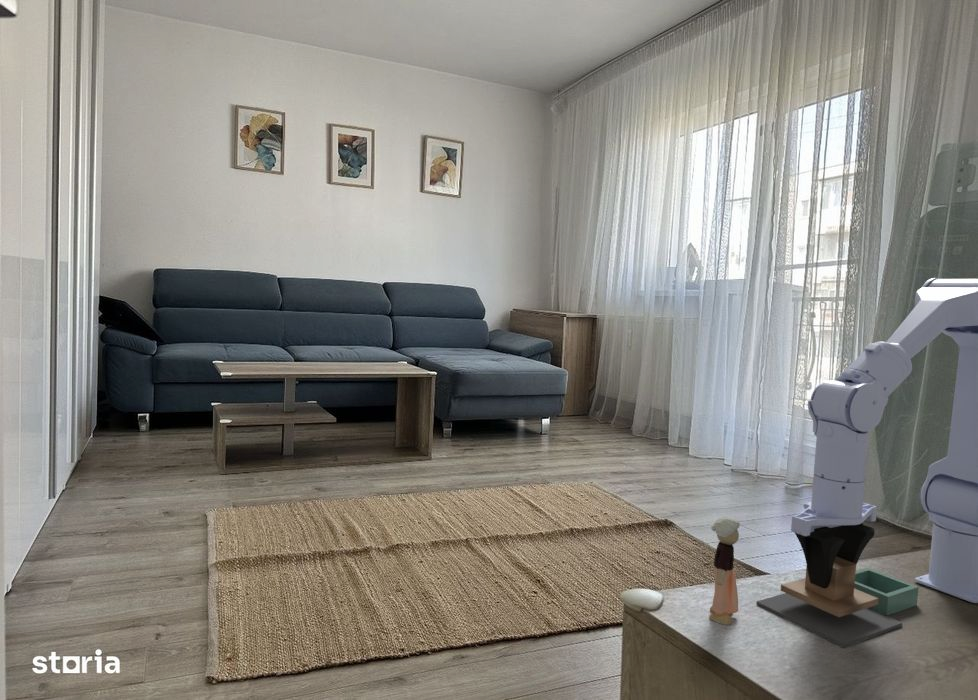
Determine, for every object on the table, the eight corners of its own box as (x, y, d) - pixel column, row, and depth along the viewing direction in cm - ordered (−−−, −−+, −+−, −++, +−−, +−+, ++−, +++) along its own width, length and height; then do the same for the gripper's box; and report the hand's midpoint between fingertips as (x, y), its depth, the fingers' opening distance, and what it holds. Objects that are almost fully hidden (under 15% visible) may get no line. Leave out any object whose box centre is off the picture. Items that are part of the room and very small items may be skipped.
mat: (814, 587, 94) (814, 585, 94) (902, 626, 84) (902, 622, 84) (756, 604, 88) (756, 601, 88) (843, 647, 78) (843, 644, 78)
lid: (819, 579, 91) (822, 545, 91) (877, 604, 84) (881, 567, 84) (780, 590, 87) (783, 554, 87) (838, 617, 80) (842, 578, 80)
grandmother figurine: (742, 631, 81) (750, 527, 80) (709, 626, 82) (716, 524, 81) (733, 603, 88) (739, 508, 87) (702, 599, 89) (708, 505, 88)
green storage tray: (865, 584, 96) (866, 567, 96) (916, 605, 90) (918, 586, 90) (835, 593, 92) (836, 576, 92) (886, 615, 86) (888, 596, 86)
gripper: (843, 464, 92) (835, 561, 93) (773, 474, 84) (765, 579, 85) (896, 477, 85) (887, 581, 87) (825, 489, 78) (816, 602, 79)
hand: (830, 581), depth 86 cm, fingers closed on lid, 4 cm apart
